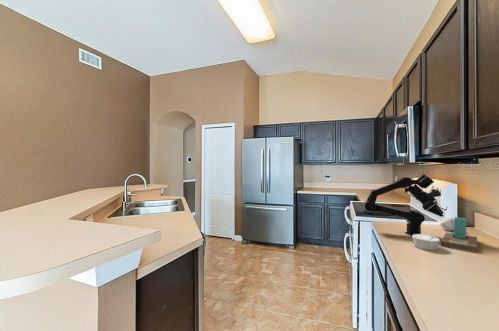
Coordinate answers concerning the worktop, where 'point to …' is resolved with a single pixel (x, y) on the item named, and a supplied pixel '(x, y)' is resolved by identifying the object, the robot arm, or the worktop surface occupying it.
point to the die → (447, 224)
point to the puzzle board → (459, 242)
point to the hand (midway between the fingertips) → (442, 215)
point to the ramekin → (425, 242)
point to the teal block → (460, 227)
